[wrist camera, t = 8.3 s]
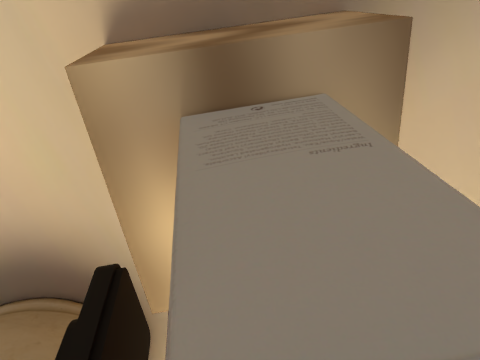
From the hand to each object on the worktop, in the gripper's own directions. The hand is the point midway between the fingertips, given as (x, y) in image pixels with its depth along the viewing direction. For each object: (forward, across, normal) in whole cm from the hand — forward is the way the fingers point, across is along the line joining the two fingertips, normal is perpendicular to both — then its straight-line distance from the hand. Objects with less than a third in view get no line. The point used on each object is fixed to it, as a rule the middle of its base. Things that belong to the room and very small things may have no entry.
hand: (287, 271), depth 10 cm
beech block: (+11, 0, 0) cm, 11 cm away
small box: (+5, 0, 0) cm, 5 cm away
